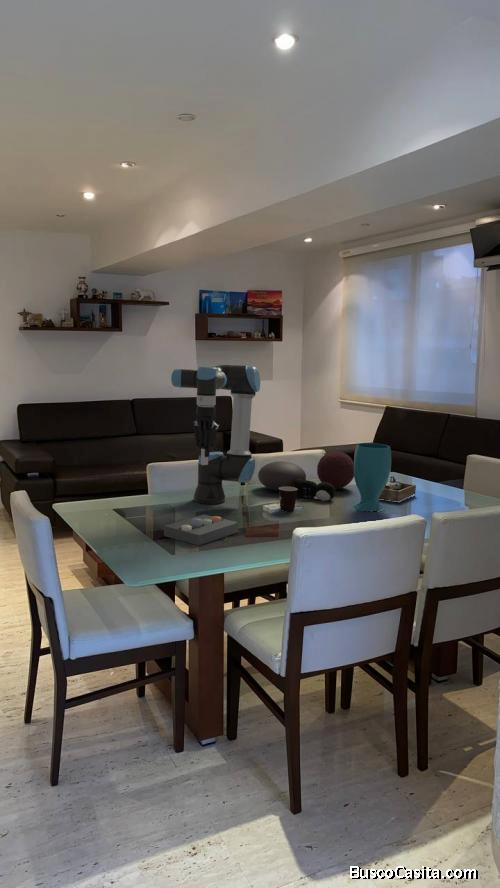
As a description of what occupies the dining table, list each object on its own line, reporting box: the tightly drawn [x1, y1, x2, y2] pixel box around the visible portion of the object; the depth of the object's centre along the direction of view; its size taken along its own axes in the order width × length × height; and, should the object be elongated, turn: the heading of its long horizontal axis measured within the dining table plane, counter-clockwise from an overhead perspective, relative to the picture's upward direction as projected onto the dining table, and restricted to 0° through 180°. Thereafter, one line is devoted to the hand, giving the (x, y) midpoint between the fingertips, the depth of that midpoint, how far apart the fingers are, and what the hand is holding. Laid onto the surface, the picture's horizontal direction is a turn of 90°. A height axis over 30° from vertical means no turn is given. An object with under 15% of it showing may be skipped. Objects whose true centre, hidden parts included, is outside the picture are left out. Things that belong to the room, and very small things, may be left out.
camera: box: [384, 474, 402, 491], centre depth 344 cm, size 15×8×10 cm, turn 143°
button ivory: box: [181, 525, 192, 531], centre depth 258 cm, size 4×4×4 cm
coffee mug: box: [278, 487, 298, 512], centre depth 309 cm, size 12×9×10 cm
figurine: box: [294, 479, 336, 502], centre depth 332 cm, size 9×9×20 cm
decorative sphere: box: [316, 450, 355, 490], centre depth 355 cm, size 20×20×20 cm
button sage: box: [202, 519, 212, 525], centre depth 267 cm, size 4×4×4 cm
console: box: [163, 513, 239, 546], centre depth 265 cm, size 18×24×4 cm
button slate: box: [192, 517, 202, 528], centre depth 262 cm, size 4×4×4 cm
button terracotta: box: [211, 515, 222, 522], centre depth 272 cm, size 4×4×4 cm
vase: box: [352, 442, 392, 512], centre depth 315 cm, size 17×17×30 cm
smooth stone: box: [257, 460, 307, 492], centre depth 347 cm, size 25×25×15 cm
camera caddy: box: [379, 482, 417, 501], centre depth 341 cm, size 14×21×6 cm, turn 144°
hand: (204, 464), depth 269 cm, fingers closed
